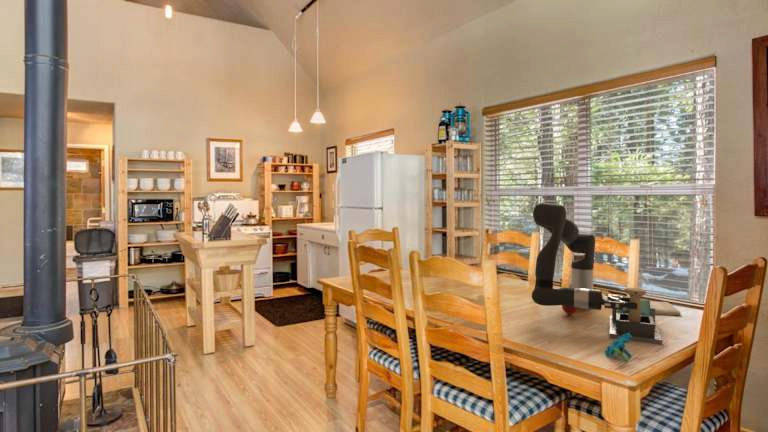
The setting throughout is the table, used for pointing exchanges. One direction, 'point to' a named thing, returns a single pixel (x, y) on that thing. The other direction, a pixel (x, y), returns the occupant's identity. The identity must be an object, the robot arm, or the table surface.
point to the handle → (635, 297)
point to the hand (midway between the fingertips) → (636, 303)
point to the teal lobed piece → (619, 346)
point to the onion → (569, 309)
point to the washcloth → (664, 308)
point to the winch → (636, 324)
